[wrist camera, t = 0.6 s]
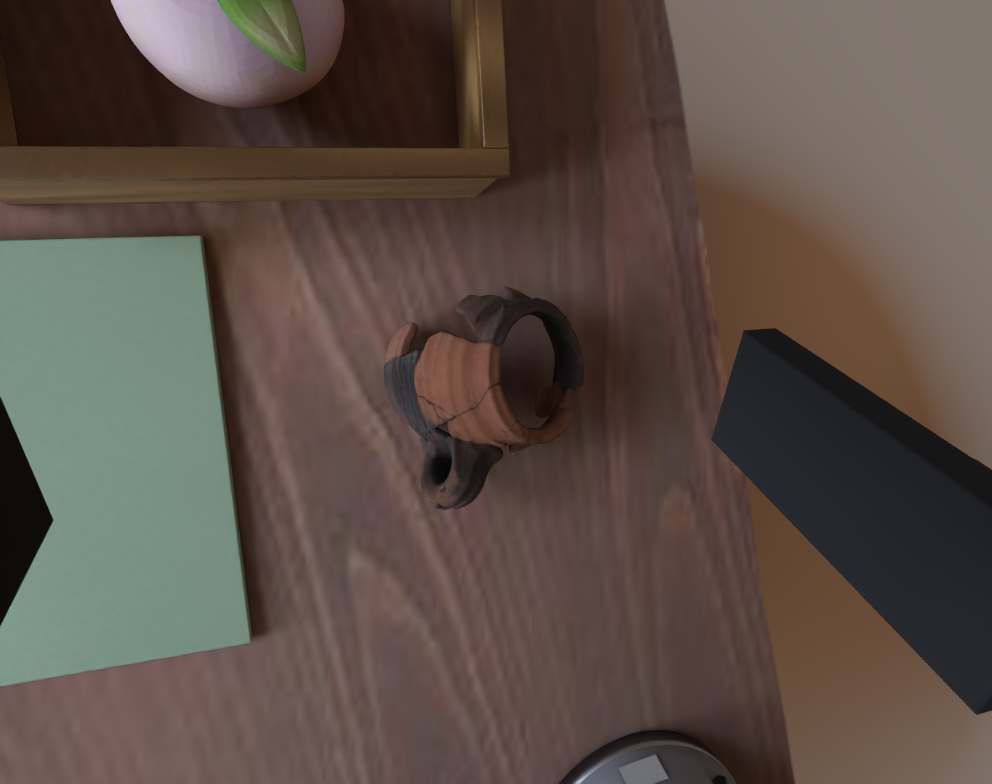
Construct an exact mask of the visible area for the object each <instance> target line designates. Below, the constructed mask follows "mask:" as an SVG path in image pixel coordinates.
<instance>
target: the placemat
mask: <svg viewBox="0 0 992 784" xmlns="http://www.w3.org/2000/svg"><path fill="white" fill-rule="evenodd" d="M0 397H1V399H2V401H3V404H4V406H5V408H6V411H7V413H8V415H9V418H10V420H11V422H12V425H13V427H14V429H15V432H16V434H17V436H18V438H19V441H20V443H21V445H22V448H23V450H24V452H25V455H26V457H27V459H28V462H29V464H30V466H31V469H32V471H33V473H34V476H35V478H36V480H37V483H38V485H39V487H40V490H41V492H42V494H43V497H44V499H45V501H46V504H47V506H48V508H49V511H50V513H51V515H52V518H53V522H52V524H51V526H50V528H49V530H48V532H47V534H46V536H45V538H44V540H43V542H42V544H41V546H40V548H39V550H38V552H37V554H36V556H35V558H34V560H33V562H32V564H31V566H30V568H29V570H28V572H27V574H26V576H25V578H24V580H23V582H22V584H21V586H20V588H19V590H18V592H17V594H16V596H15V598H14V600H13V602H12V604H11V606H10V608H9V610H8V612H7V614H6V616H5V618H4V620H3V622H2V624H1V626H0V686H5V685H11V684H17V683H23V682H28V681H34V680H40V679H46V678H52V677H57V676H63V675H69V674H75V673H80V672H86V671H92V670H98V669H104V668H109V667H115V666H121V665H127V664H132V663H138V662H144V661H150V660H156V659H161V658H167V657H173V656H179V655H184V654H190V653H196V652H202V651H208V650H213V649H219V648H225V647H231V646H236V645H242V644H248V643H251V641H252V629H251V621H250V613H249V605H248V597H247V589H246V581H245V573H244V565H243V557H242V548H241V540H240V532H239V524H238V516H237V508H236V500H235V492H234V484H233V476H232V468H231V459H230V451H229V443H228V435H227V427H226V419H225V411H224V403H223V395H222V387H221V379H220V370H219V362H218V354H217V346H216V338H215V330H214V322H213V314H212V306H211V298H210V290H209V281H208V273H207V265H206V257H205V249H204V241H203V237H202V236H200V235H192V236H154V237H117V238H79V239H41V240H3V241H0Z"/></svg>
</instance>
